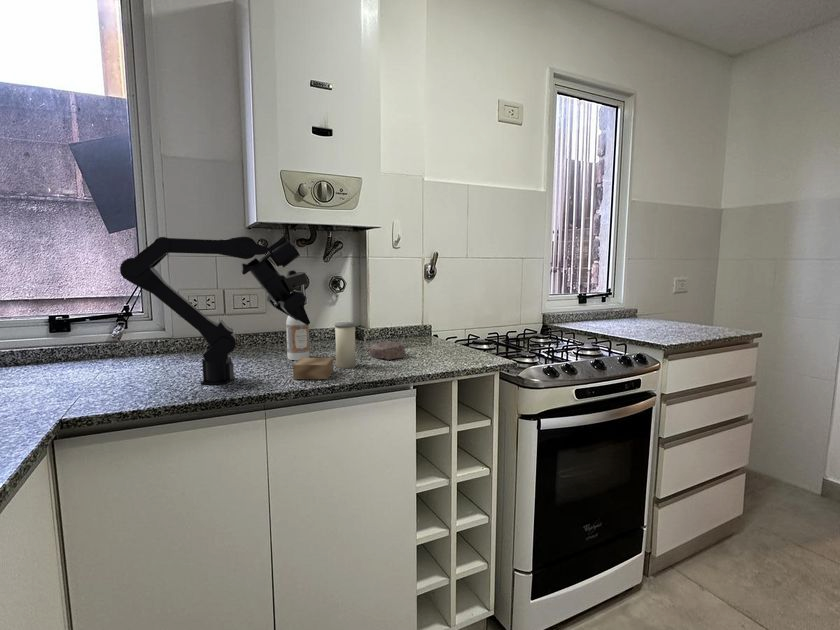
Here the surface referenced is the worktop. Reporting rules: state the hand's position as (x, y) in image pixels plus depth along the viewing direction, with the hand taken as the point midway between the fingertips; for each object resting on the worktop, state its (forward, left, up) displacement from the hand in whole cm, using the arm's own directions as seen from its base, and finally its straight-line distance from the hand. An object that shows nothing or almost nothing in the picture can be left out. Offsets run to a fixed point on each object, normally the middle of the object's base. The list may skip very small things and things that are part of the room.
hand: (303, 321), depth 125 cm
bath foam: (-6, +16, -15) cm, 23 cm away
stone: (+22, +19, -15) cm, 33 cm away
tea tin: (+11, +6, -14) cm, 19 cm away
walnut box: (+4, -5, -14) cm, 16 cm away
